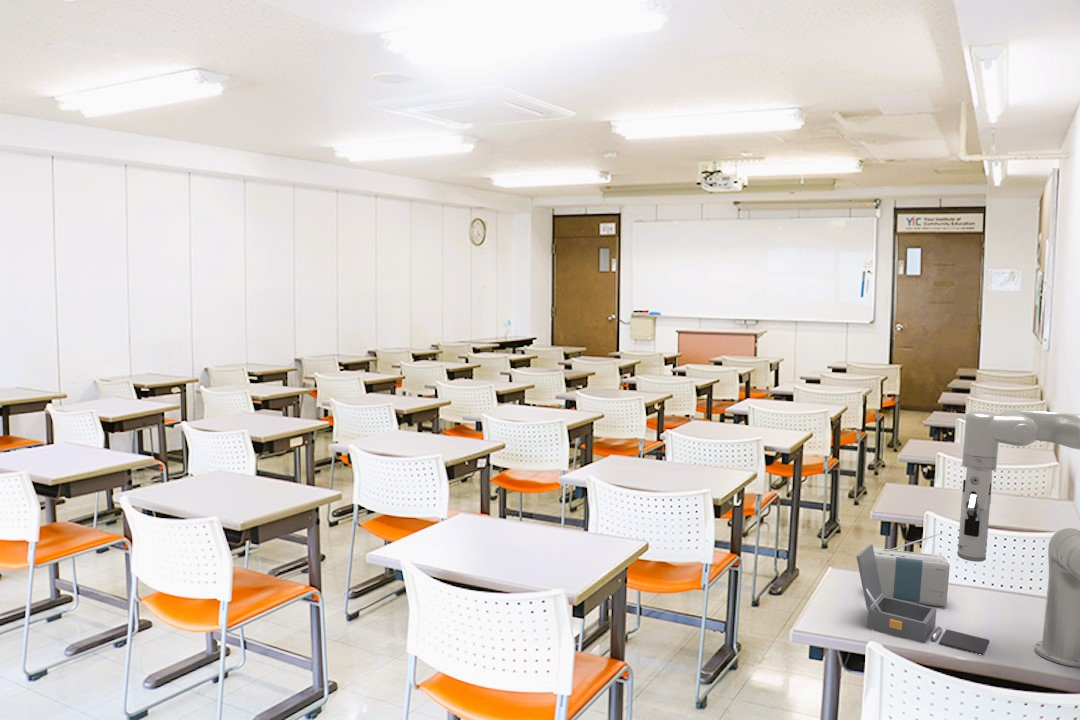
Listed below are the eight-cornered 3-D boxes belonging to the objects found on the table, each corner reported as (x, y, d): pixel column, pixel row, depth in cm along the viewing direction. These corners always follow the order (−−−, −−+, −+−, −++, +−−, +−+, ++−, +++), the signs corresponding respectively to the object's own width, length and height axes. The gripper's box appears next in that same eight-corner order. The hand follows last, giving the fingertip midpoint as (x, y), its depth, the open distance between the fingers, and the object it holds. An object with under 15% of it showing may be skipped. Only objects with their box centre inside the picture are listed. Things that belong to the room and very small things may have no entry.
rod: (942, 631, 221) (942, 626, 221) (935, 642, 214) (936, 637, 214) (937, 629, 221) (937, 625, 221) (930, 640, 214) (930, 636, 214)
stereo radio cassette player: (866, 599, 242) (871, 531, 240) (864, 589, 249) (869, 523, 247) (946, 610, 236) (952, 540, 234) (941, 599, 243) (947, 531, 241)
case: (935, 626, 224) (940, 558, 222) (924, 643, 212) (929, 571, 211) (864, 609, 234) (869, 543, 232) (850, 624, 223) (855, 556, 221)
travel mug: (957, 559, 210) (963, 480, 208) (957, 552, 216) (963, 475, 214) (985, 564, 207) (991, 484, 205) (985, 556, 213) (991, 478, 211)
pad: (989, 642, 215) (989, 639, 215) (983, 655, 207) (983, 653, 207) (946, 631, 221) (946, 629, 220) (938, 644, 212) (938, 642, 212)
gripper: (991, 469, 200) (984, 543, 202) (1001, 458, 214) (995, 527, 216) (956, 465, 204) (950, 537, 206) (968, 454, 218) (963, 521, 220)
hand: (973, 531), depth 211 cm, fingers closed on travel mug, 6 cm apart
